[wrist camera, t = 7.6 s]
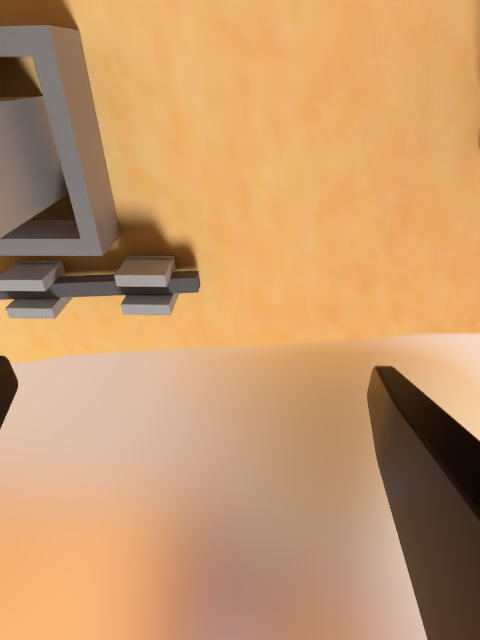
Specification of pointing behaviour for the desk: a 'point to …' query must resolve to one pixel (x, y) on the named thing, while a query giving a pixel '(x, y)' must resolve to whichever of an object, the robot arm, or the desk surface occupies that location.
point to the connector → (27, 161)
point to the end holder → (65, 147)
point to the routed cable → (95, 286)
